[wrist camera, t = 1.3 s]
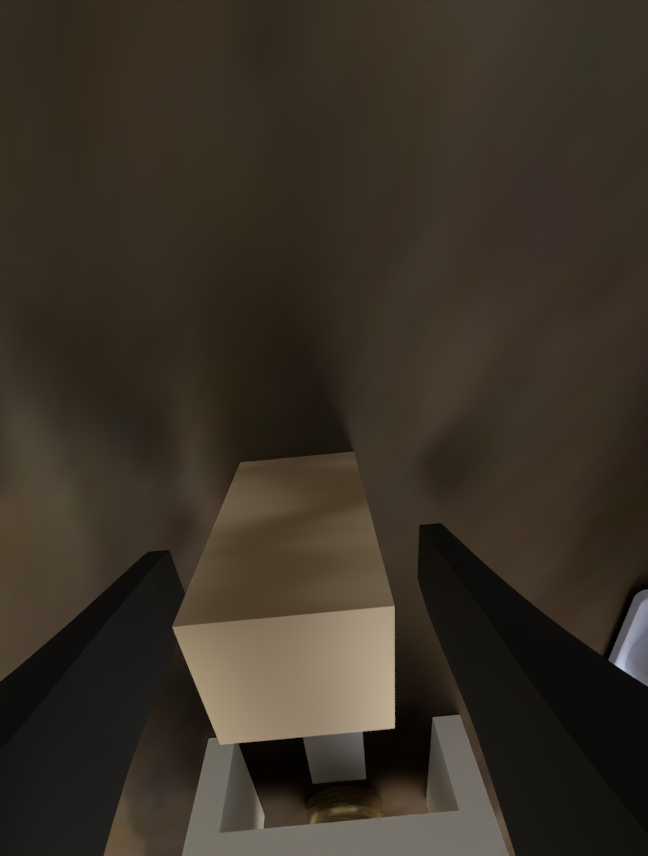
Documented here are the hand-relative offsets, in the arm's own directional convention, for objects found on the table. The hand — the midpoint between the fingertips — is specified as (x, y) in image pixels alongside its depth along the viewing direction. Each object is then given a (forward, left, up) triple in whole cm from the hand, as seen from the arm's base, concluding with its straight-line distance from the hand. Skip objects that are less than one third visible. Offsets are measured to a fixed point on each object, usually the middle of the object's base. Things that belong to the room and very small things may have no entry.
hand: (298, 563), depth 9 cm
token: (0, +25, -3) cm, 25 cm away
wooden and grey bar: (0, +8, -3) cm, 9 cm away
